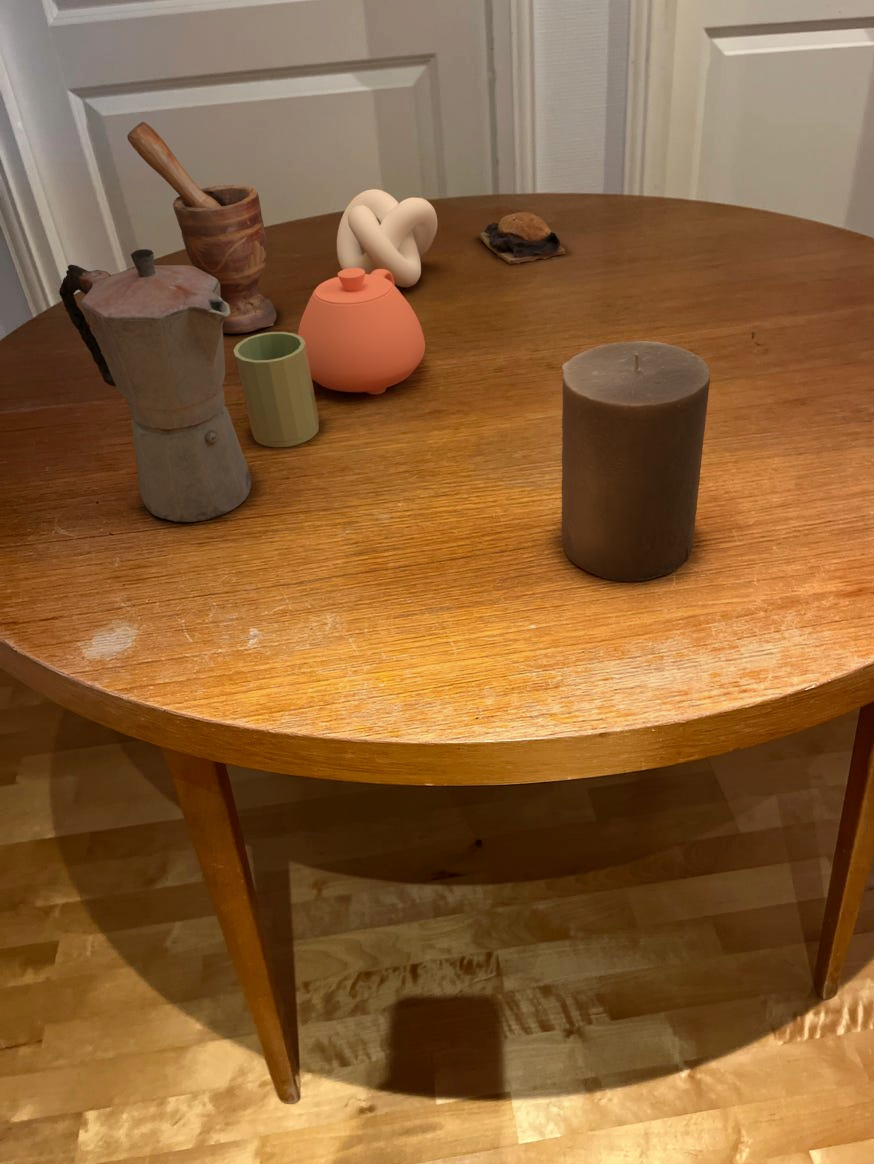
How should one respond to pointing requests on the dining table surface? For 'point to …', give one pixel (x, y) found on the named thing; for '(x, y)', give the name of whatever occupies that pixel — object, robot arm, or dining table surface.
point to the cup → (277, 388)
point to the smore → (521, 238)
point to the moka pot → (166, 380)
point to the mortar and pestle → (217, 233)
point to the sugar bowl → (361, 333)
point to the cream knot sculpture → (386, 235)
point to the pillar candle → (632, 457)
